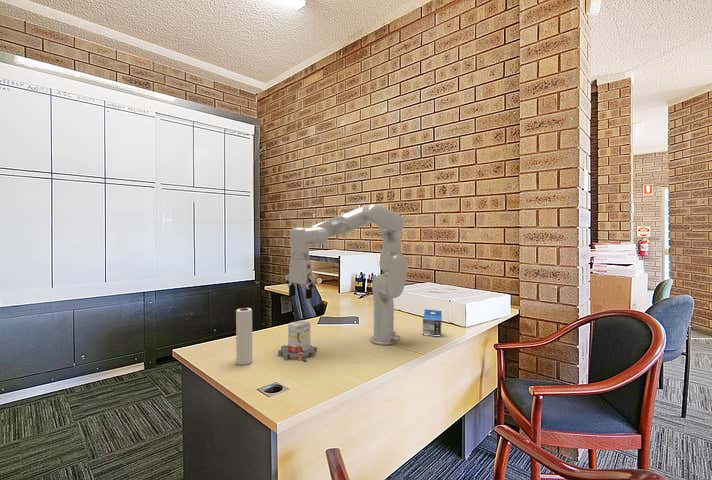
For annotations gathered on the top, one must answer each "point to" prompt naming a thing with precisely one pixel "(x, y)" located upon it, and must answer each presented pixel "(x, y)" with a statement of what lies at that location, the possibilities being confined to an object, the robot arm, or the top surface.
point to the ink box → (298, 336)
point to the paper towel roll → (244, 336)
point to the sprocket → (298, 356)
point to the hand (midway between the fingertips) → (300, 297)
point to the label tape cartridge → (432, 322)
